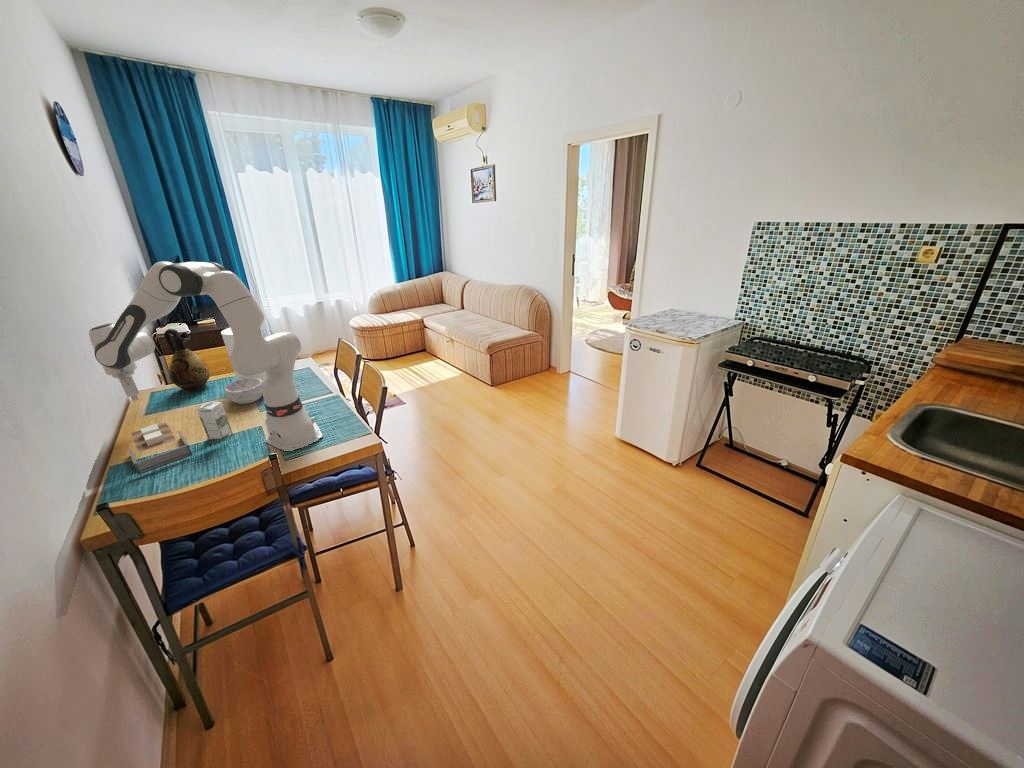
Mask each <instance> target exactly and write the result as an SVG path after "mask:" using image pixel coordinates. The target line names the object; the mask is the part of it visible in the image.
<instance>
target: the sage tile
mask: <svg viewBox="0 0 1024 768" xmlns="http://www.w3.org/2000/svg"><path fill="white" fill-rule="evenodd" d="M157 425H158V424H157V423H155V424H151V425H149V426H145V427H143V428H140V430H141V432H142V434H143V436H144V435H147V434H150V433H153V432H157V431H160V430H159V428H158V426H157Z"/></svg>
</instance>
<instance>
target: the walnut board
mask: <svg viewBox="0 0 1024 768" xmlns="http://www.w3.org/2000/svg"><path fill="white" fill-rule="evenodd" d="M157 426H158V428H159V430H160V432H161V434H162V435H163V438H164V440H165V441H162V442H159V443H156V444H153V445H150V446H148V445H147V443H146V441H145V438H144V436H143V434H142V432H141V429H139V430H137V431H132V432H131V433H130V434H131V436H132V439H133V441H134V444H135V447H136V448H137V451H138V453H141V452H144V451H147V450H149V449H153V448H156V447H158V446H161V445H165V444H168V443H171V442H173V441H176V440H177V439H176V437H175V435H174V434H173V432H172V431H171V429H170V427H169V425H168V423H167V422H163V423H162V422H161V423H159V424H157Z"/></svg>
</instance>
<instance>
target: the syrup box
mask: <svg viewBox="0 0 1024 768" xmlns="http://www.w3.org/2000/svg"><path fill="white" fill-rule="evenodd" d="M196 411H197V414H198V415H199V416H198V417H199V419H200V421H201V425H202V427H203V429H204V431H205V434H206V437H207V439H209V440H211V439H212V440H213V439H214V440H216V439H218V440H219V439H221V440H222V439H223V438H225V437H226V436H228V437H231V435H233V431H232V428H231V425H230V423H229V420H228V416H227V414H226V411H225V408H224V406H223V403H222V402H219V401H207V402H206V403H204V404H203V405H201V406H200V407H198V408H197V409H196Z"/></svg>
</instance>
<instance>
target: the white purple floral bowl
mask: <svg viewBox="0 0 1024 768" xmlns="http://www.w3.org/2000/svg"><path fill="white" fill-rule="evenodd" d="M261 382H262V380H261V379H259V378H246V379H241V380H237V379H236V380H235V381H232V382H231V383H228V384H226V386H225V387H224V392H225V395H226V398H227V400H228V401H230V402H233V403H236V404H238V405H245V404H246V405H247V404H252V403H255V402H257V401H259V400H260V399H261V398H262V396H263V394H262V391H261V388H260V385H261Z"/></svg>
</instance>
